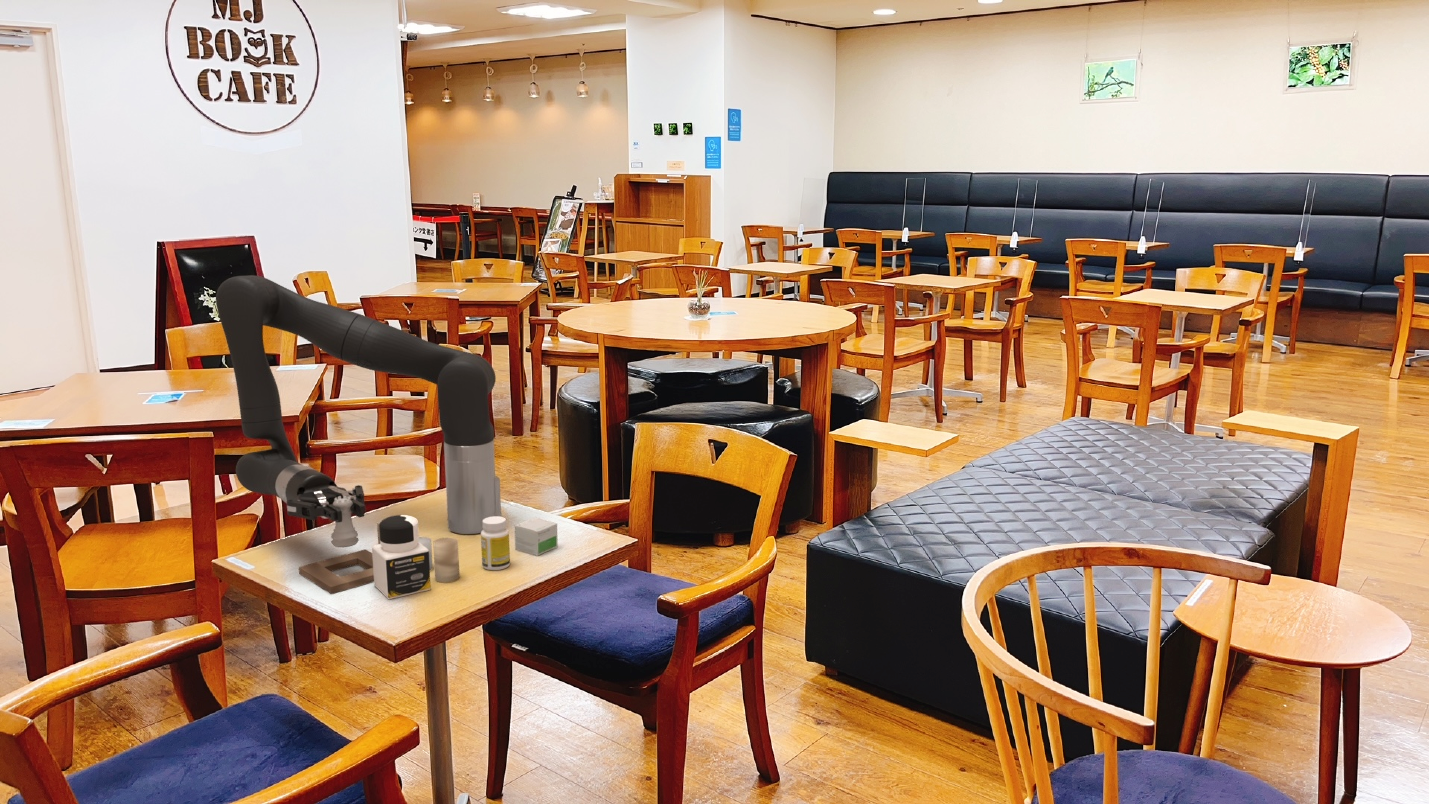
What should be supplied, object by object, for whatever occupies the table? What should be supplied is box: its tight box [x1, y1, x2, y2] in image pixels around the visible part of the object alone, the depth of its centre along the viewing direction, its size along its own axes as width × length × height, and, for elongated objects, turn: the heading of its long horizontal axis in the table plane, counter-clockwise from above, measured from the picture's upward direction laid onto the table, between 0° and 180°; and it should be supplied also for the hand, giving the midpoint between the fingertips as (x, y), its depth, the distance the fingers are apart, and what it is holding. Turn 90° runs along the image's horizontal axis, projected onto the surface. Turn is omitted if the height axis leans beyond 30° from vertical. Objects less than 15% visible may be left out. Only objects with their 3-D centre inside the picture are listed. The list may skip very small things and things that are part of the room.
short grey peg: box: [419, 536, 434, 571], centre depth 176 cm, size 4×4×5 cm
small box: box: [514, 516, 558, 557], centre depth 186 cm, size 6×6×5 cm
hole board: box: [298, 521, 381, 595], centre depth 173 cm, size 12×12×9 cm
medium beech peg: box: [432, 537, 461, 584], centre depth 172 cm, size 4×4×6 cm
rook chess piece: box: [330, 496, 360, 548], centre depth 172 cm, size 4×4×8 cm
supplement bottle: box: [480, 516, 511, 571], centre depth 177 cm, size 5×5×8 cm
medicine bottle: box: [371, 514, 432, 600], centre depth 167 cm, size 7×7×12 cm
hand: (351, 513), depth 169 cm, fingers closed on rook chess piece, 3 cm apart
